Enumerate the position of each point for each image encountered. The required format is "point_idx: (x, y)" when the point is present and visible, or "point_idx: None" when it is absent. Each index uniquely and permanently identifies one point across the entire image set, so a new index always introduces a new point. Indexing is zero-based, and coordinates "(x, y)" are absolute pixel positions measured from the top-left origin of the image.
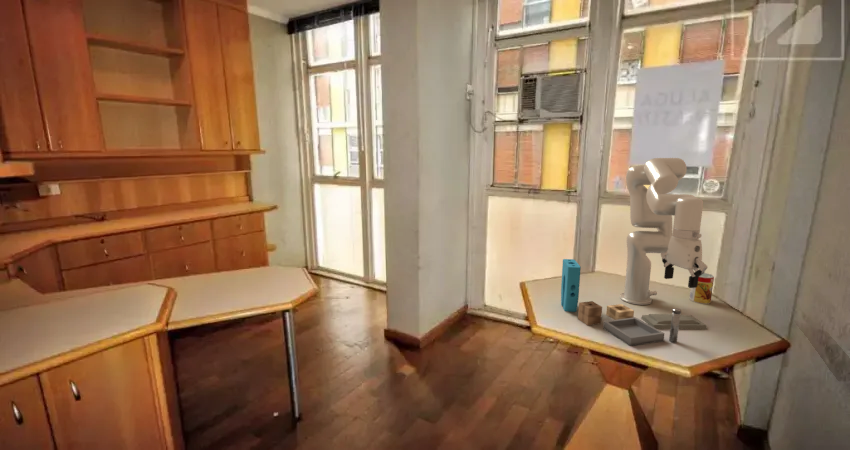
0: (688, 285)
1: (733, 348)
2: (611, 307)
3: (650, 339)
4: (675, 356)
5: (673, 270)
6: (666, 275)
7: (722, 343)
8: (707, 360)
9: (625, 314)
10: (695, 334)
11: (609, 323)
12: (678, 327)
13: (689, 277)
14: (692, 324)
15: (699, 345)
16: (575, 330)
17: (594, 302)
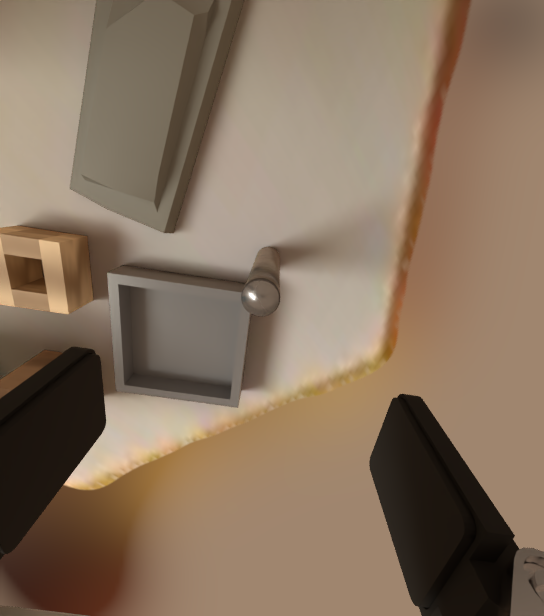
0: (380, 485)
1: (404, 90)
2: (15, 301)
3: (247, 338)
4: (333, 335)
5: (18, 427)
6: (81, 456)
7: (360, 87)
8: (394, 276)
9: (73, 280)
10: (262, 114)
11: (134, 388)
12: (279, 270)
13: (417, 597)
14: (208, 49)
15: (326, 199)
16: (121, 439)
17: (5, 389)
